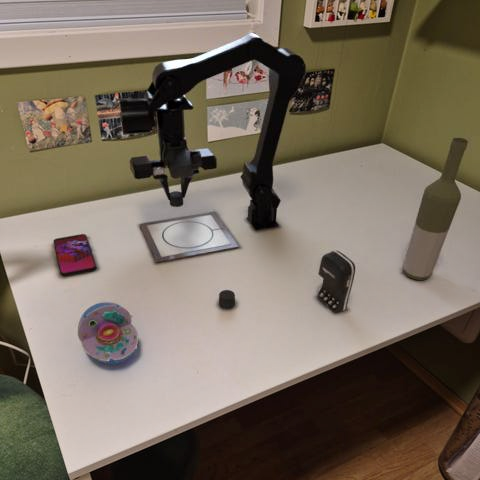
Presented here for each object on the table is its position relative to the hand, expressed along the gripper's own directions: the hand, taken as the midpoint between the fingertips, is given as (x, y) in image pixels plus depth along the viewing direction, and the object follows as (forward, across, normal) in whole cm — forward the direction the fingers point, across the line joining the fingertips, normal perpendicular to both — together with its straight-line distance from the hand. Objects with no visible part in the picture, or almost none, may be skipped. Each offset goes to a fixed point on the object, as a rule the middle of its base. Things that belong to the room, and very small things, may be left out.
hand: (176, 198), depth 110 cm
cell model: (+10, -22, -36) cm, 44 cm away
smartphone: (+9, -25, -2) cm, 27 cm away
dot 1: (+1, 0, 0) cm, 1 cm away
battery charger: (+9, +22, -38) cm, 44 cm away
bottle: (+9, +46, -35) cm, 58 cm away
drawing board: (+9, +2, -2) cm, 10 cm away
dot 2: (+9, +2, -30) cm, 32 cm away
